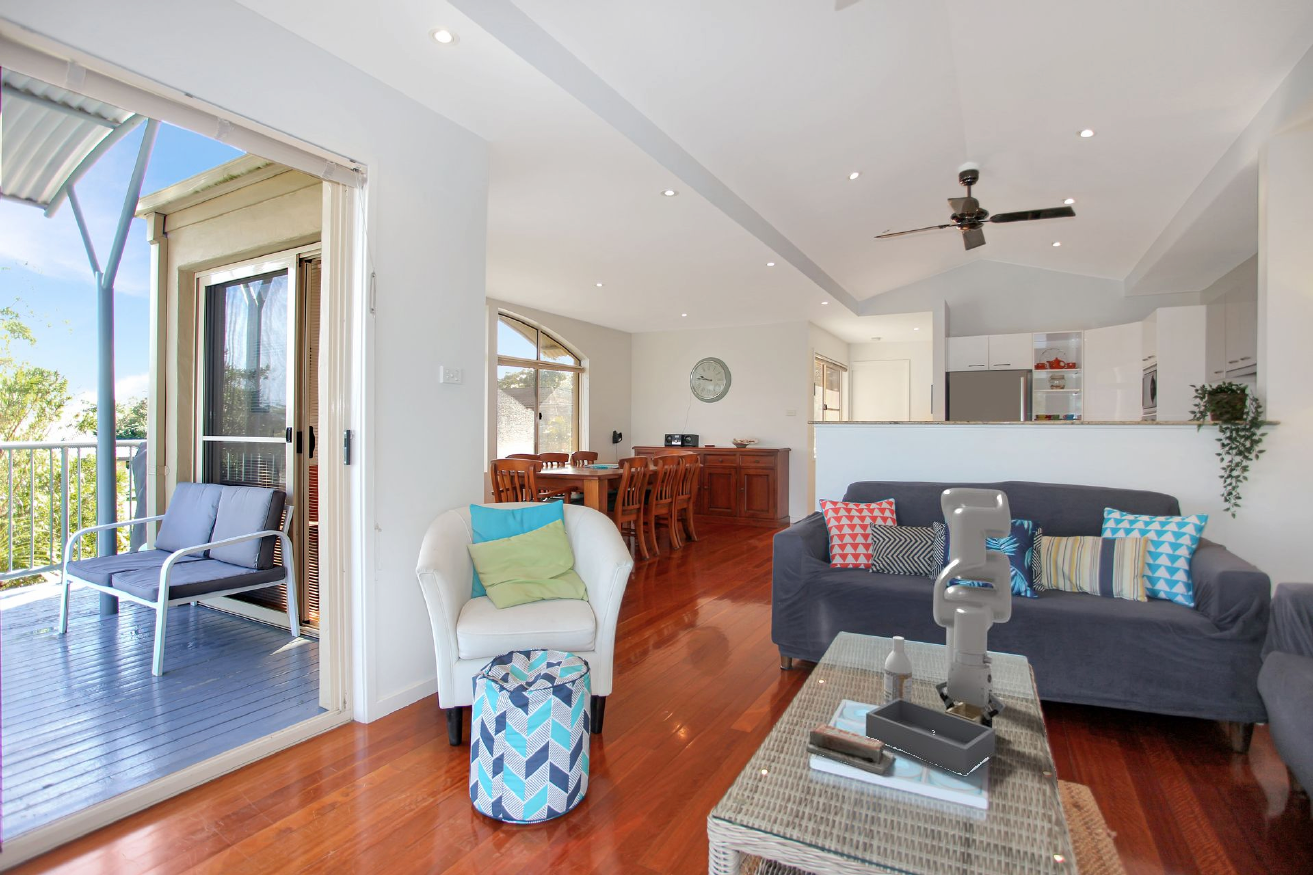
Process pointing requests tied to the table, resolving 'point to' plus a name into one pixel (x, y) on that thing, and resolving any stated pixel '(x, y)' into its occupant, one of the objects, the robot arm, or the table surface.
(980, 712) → the pine crate
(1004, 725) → the table surface
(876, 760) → the packaged product
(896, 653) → the bath foam
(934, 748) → the charcoal crate
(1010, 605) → the robot arm
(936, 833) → the table surface
